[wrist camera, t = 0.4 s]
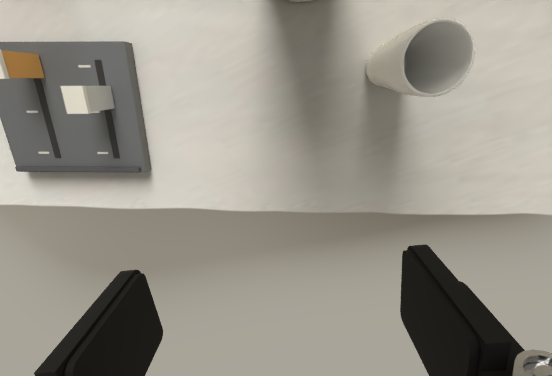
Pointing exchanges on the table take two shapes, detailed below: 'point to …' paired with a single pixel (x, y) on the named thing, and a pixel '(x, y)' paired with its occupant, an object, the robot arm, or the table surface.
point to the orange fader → (20, 65)
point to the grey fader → (87, 99)
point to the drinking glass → (424, 59)
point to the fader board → (75, 127)
